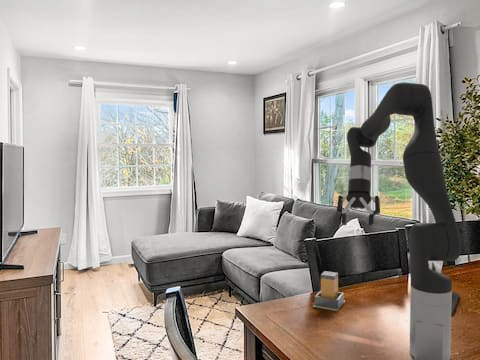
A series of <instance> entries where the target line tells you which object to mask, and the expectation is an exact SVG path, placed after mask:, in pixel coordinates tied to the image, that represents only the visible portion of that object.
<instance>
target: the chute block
mask: <svg viewBox="0 0 480 360" xmlns="http://www.w3.org/2000/svg"><path fill="white" fill-rule="evenodd" d="M320 290H321V297H325V298H332V299H337V298H338V292H339V273H338V272H337V271H336V272H334V271H327V270H324V271H323V272H322V273H321V274H320Z"/></svg>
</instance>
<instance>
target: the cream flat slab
mask: <svg viewBox="0 0 480 360" xmlns="http://www.w3.org/2000/svg"><path fill="white" fill-rule="evenodd" d="M345 302H346V300H345V299H344V302H343V303H342V305H341V306H340V307H339V309H332V308H327V307H321V306H315V304H313V306H312V307H314V308H317V309H318V308H319V309H325V310H331V311H337V312H338V311H339V310H340V308H341V307H342V306H343V304H345Z"/></svg>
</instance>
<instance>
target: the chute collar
mask: <svg viewBox="0 0 480 360" xmlns="http://www.w3.org/2000/svg"><path fill="white" fill-rule="evenodd" d="M344 300H345V292H342V291H341V292H340V291H338V298H337V299H332V298H325V297H321V289H320V290H319V291H318V292H317V294H316V295H315V296H314V305H315V306H321V307H327V308H332V309H339V310H340V308H341V307H342V306H343V304H344V303H345V302H344ZM343 302H344V303H343ZM342 303H343V304H342ZM341 305H342V306H341ZM340 306H341V307H340ZM339 307H340V308H339Z"/></svg>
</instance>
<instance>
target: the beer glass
mask: <svg viewBox="0 0 480 360" xmlns="http://www.w3.org/2000/svg"><path fill="white" fill-rule="evenodd" d="M443 263H444V261H429V268H430V269H431V270H434V271H436V272H439V273H442V270H443V269H442V268H443Z"/></svg>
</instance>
